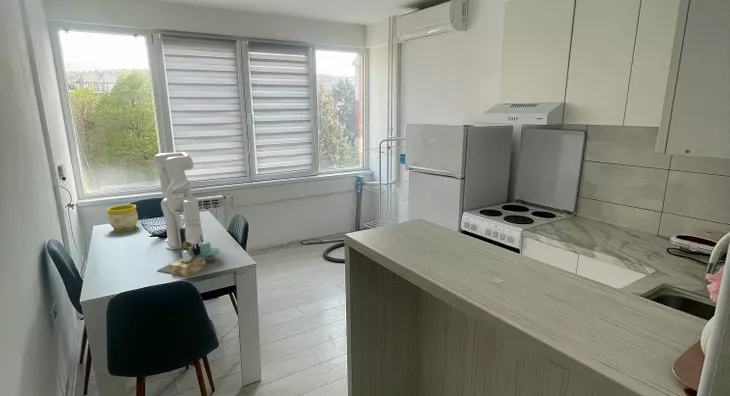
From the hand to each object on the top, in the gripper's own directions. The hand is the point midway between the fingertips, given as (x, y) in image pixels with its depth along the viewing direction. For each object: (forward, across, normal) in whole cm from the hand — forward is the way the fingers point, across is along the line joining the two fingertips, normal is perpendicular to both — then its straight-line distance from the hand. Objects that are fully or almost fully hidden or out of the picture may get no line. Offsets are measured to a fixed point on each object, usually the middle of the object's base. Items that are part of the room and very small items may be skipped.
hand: (197, 254), depth 201 cm
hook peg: (+7, -1, -5) cm, 9 cm away
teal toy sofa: (+7, -2, +6) cm, 10 cm away
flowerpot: (+6, -108, +9) cm, 109 cm away
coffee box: (+7, -21, +8) cm, 24 cm away
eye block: (+7, -1, -5) cm, 9 cm away
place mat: (+7, -11, -10) cm, 16 cm away
